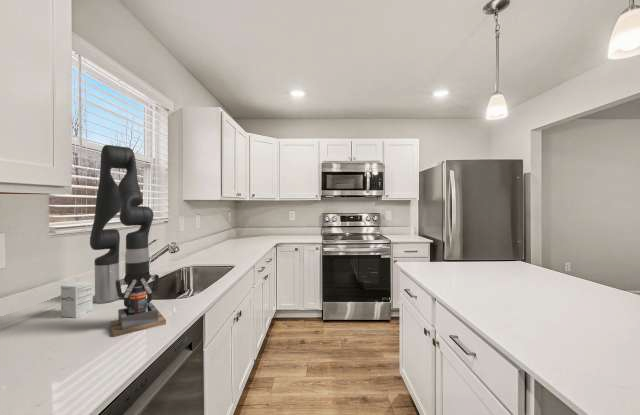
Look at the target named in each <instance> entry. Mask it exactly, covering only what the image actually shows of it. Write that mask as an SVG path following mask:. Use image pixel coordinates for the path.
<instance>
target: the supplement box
mask: <svg viewBox="0 0 640 415" xmlns="http://www.w3.org/2000/svg"><path fill="white" fill-rule="evenodd" d="M93 302H94V300H93V282H92V281H79V280H78V281H73V282H69V283H67V284H62V285H60V315H61V316H60V317H61V318H62V317H65V318H75V319H77V318H79V317H82V316H84V315H87V314H90V313H92V312H93V310H94V309H93V305H94V304H93Z"/></svg>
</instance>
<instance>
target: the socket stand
mask: <svg viewBox="0 0 640 415" xmlns="http://www.w3.org/2000/svg"><path fill="white" fill-rule="evenodd" d="M147 311H148V312H143V313H139V314H134V315H129V308H126V307H125V308H120V309H118V311H117V312H118V313H117V314H118V319H116V320H112V321H110V322H109V326H110V329H111V333H112V336H113V338H116V337H119V336H123V335H127V334H132V333H135V332H136V333H137V332H139V331H144V330H148V329H150V328H151V329H152V328H155V327H159V326H163V325H166V324H167V319H166V318H165V317H164V315H163V314H162V313H161V312H160V311H159V310H158V309H157V307H156V306H155V305H154V304H153V303H152V302H150V303H149V304H147Z"/></svg>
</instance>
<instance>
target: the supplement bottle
mask: <svg viewBox="0 0 640 415" xmlns="http://www.w3.org/2000/svg"><path fill="white" fill-rule="evenodd" d="M128 297H129V315H134V314H139V313H143V312H148V311H147V291H146V289H145V287H144V286H139V287H134V288H133V289H132V291H131V292H130V294H129V296H128Z"/></svg>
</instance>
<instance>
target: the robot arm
mask: <svg viewBox="0 0 640 415" xmlns="http://www.w3.org/2000/svg"><path fill="white" fill-rule="evenodd" d="M133 150H134V149H132V148H131V147H128V146H119V145H111V144H105V145H104V146H103V147H102V149H101V153H100V164H99V165H100V168H99V169H100V170H99V183H98V188H97V193H96V199H95V209H94V218H93V224H92V228H91V232H90V235H89V236H90V237H89V245H90V246H89V247H90V248H91V249H92V250H94V251H103V250H108V251H107V252H106V253H104V254H103V255H100V256H98V257H96V258H95V259H94V302H95V304H106V303H112V302H115V301H118V300H119V299H120V298H123V306H124V307H125V308H129V297H128V296H129V294H130V293H131V291H132V289H133V288H134V287H139V286H144V290H145V291H147V304H149V303H152V297H153V296H152V293H154V292H156V291H157V290H158V287H159V286H158V285H159V278H160V276H159V274H157V273H155V274H151V273H150V251H149V233H150V231H151V226H152V223H153V220H154V211H153V209H152V208H151V207H150V206H141V205H142V204H143V201H144V199H143V195H142V192H141V189H140V185H139V181H138V168H137V163H136V162H137V161H136V156H135V152H134V151H133ZM112 169H118V170H119V169H121V170H126V172H125V175H124V176H123V177H122V179H121V180H120V181H119V184H117V183H116V181H115V179H114V177H113V176H112V171H111V170H112ZM119 212H120V214H119ZM118 214H119V221H120V222H121V224H122V225H123V226H127V227H131V226H132V227H133V226H134V227H136V226H140V227H139V228H138V230H135V231H131V232H128V233H127V234H126V235H125V253H124V254H125V255H124V257H125V258H124V260H125V266H124V268H125V269H124V270H125V275H124V278H122V279H120V241H121V240H120V239H121V235H120V232H119V230H118V229H116V228H110V229H109V228H108V229H104V228H105V227H106V225H107V224H108V223H109V221H111V220H112V219H113V218H114V217H115V216H116V215H118ZM150 279H151V280H152V281H153V282H152V287H150V286H149V284H148V282H149V281H150ZM124 283H126V284H127V286H126V288H125V290H124V292H122V286H123V285H124Z"/></svg>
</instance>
